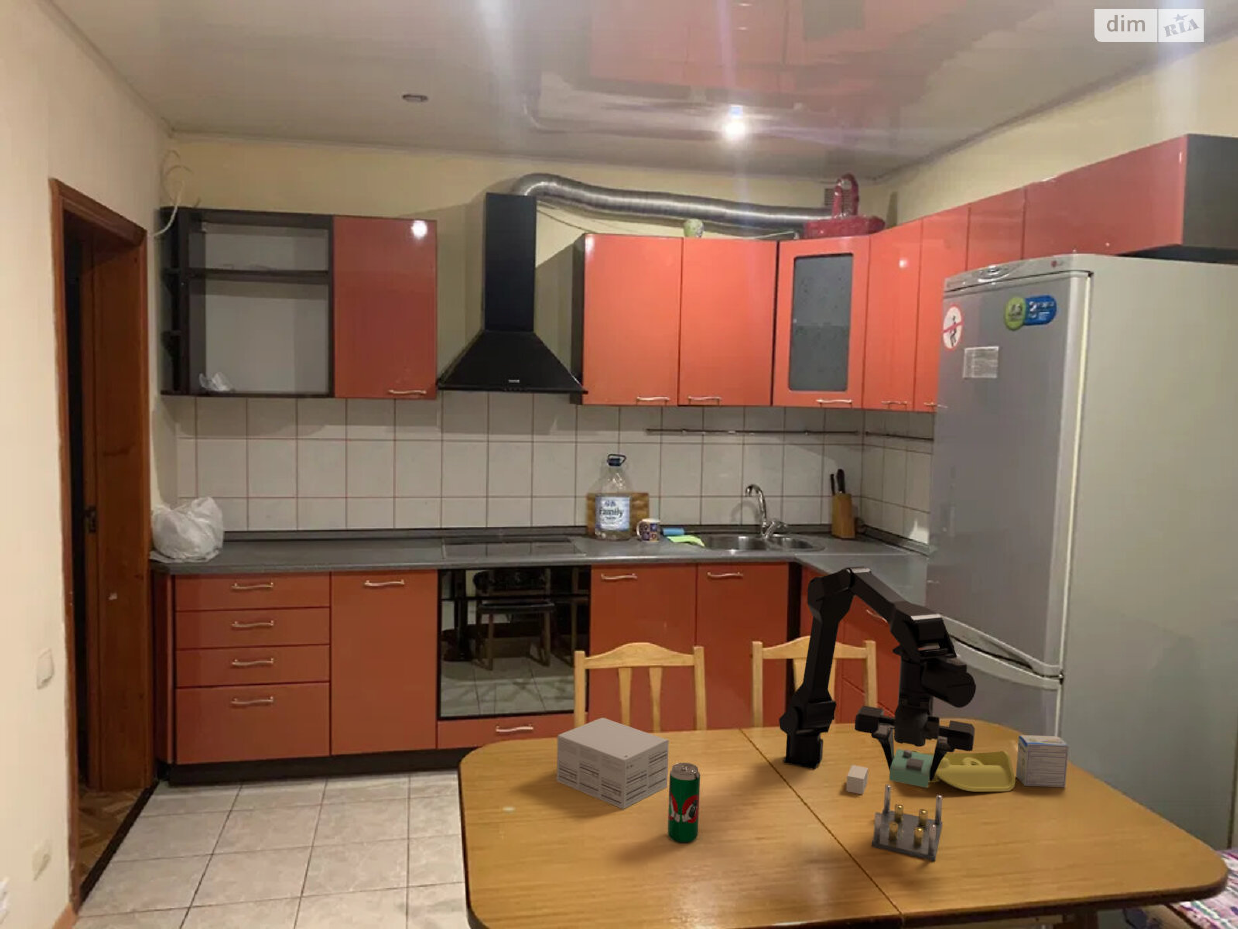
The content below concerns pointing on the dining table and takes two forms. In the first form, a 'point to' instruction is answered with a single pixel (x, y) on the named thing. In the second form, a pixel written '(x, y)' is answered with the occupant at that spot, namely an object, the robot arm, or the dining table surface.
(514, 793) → the dining table surface
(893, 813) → the chassis
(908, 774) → the board
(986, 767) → the plastic component
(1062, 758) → the medicine box
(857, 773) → the white rectangular block
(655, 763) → the supplement box
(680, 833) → the soda can
